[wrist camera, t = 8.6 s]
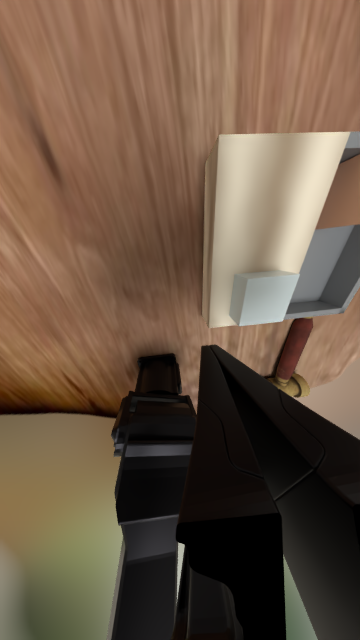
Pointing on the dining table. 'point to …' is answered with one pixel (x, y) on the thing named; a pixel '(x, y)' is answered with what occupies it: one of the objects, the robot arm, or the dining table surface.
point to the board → (262, 207)
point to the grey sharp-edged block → (261, 296)
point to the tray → (329, 264)
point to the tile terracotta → (343, 197)
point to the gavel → (293, 360)
